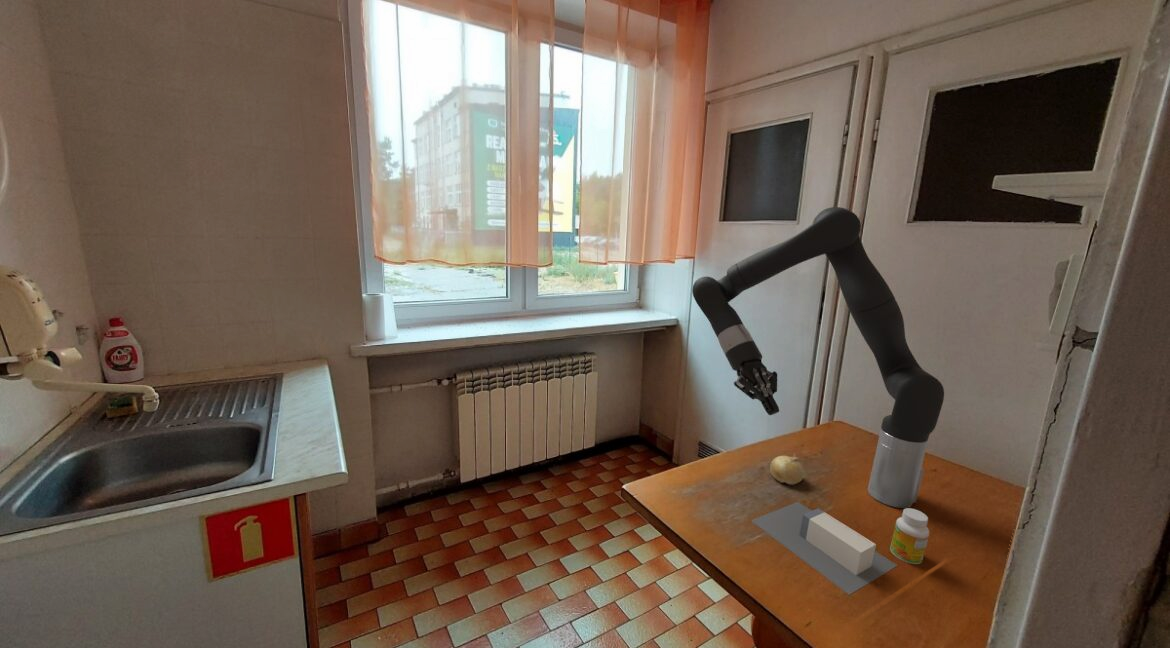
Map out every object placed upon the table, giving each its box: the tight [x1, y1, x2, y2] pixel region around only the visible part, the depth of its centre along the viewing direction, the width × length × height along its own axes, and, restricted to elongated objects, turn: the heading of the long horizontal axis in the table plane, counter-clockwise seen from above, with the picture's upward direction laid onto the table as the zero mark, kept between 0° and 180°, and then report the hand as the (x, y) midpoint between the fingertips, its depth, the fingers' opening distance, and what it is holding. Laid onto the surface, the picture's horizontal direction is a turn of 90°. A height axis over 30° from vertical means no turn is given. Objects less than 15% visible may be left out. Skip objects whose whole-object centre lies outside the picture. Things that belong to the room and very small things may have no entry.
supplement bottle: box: [889, 507, 930, 565], centre depth 88 cm, size 5×5×10 cm
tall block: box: [800, 507, 877, 575], centre depth 88 cm, size 5×5×12 cm
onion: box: [769, 453, 805, 486], centre depth 114 cm, size 8×8×7 cm
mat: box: [750, 501, 898, 596], centre depth 91 cm, size 22×16×1 cm
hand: (774, 413), depth 99 cm, fingers closed
